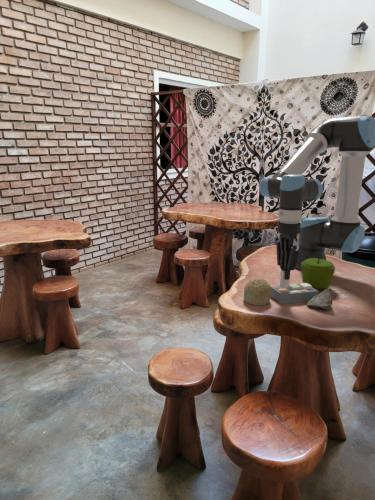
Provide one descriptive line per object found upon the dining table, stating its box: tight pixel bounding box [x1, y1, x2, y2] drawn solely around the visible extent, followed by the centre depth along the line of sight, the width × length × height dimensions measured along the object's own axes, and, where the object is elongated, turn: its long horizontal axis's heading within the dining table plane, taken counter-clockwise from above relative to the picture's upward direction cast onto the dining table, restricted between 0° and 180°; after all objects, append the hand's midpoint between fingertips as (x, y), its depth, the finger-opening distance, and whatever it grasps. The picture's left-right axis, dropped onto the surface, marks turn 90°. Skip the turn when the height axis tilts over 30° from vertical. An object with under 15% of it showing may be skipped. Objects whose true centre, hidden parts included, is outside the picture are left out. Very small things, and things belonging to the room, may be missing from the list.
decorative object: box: [243, 278, 272, 306], centre depth 126 cm, size 9×10×10 cm
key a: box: [298, 282, 312, 290], centre depth 130 cm, size 3×3×2 cm
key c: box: [277, 288, 290, 293], centre depth 128 cm, size 3×3×2 cm
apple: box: [300, 258, 336, 290], centre depth 140 cm, size 12×12×11 cm
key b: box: [288, 283, 301, 291], centre depth 129 cm, size 3×3×2 cm
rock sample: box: [306, 287, 334, 311], centre depth 123 cm, size 10×8×9 cm
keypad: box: [271, 283, 319, 305], centre depth 130 cm, size 14×8×4 cm, turn 106°
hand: (284, 286), depth 128 cm, fingers closed
